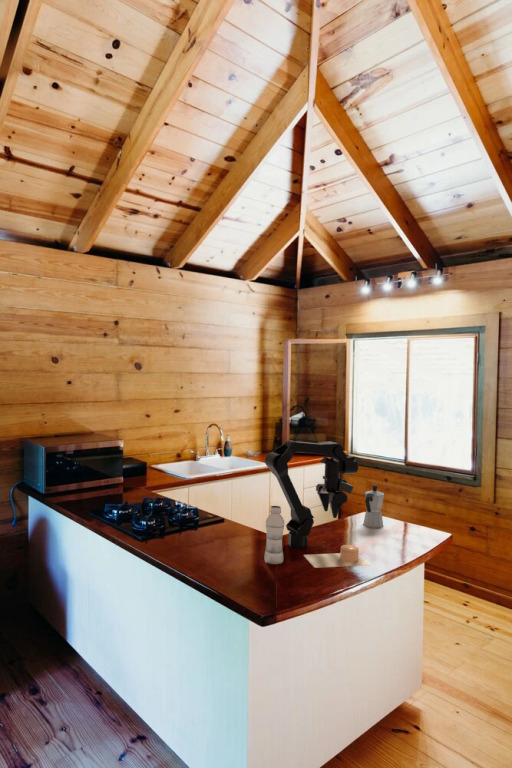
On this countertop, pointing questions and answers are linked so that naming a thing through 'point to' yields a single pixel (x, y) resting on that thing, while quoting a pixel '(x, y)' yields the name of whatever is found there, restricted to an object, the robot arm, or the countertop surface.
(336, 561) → the board
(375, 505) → the coffee maker
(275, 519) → the plastic bottle
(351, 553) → the cap
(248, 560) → the countertop surface
